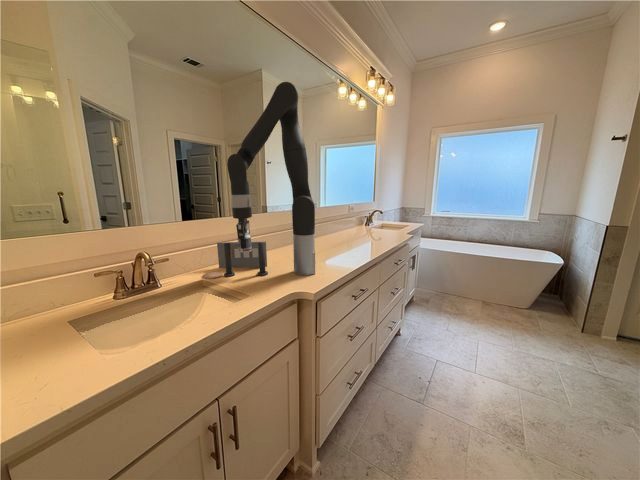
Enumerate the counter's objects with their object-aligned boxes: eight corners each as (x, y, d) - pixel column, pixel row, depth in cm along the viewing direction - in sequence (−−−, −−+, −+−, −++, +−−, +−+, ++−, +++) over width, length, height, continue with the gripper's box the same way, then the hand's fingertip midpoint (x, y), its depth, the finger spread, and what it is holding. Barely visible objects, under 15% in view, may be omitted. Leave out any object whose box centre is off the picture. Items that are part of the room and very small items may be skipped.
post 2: (268, 272, 112) (267, 241, 109) (267, 275, 108) (265, 243, 105) (258, 272, 112) (256, 241, 109) (256, 276, 107) (255, 243, 105)
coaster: (224, 272, 112) (224, 271, 112) (219, 278, 104) (219, 277, 104) (206, 273, 112) (206, 272, 111) (199, 279, 104) (199, 278, 104)
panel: (267, 265, 122) (266, 241, 119) (266, 267, 119) (265, 242, 117) (219, 267, 120) (217, 242, 117) (218, 268, 118) (216, 243, 115)
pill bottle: (254, 250, 109) (252, 229, 107) (247, 253, 104) (245, 231, 102) (243, 249, 110) (242, 229, 109) (236, 252, 105) (234, 231, 104)
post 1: (235, 273, 111) (233, 242, 108) (233, 276, 107) (231, 244, 104) (225, 273, 110) (223, 242, 108) (222, 277, 106) (219, 244, 103)
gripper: (247, 207, 97) (251, 250, 100) (254, 204, 111) (256, 242, 114) (227, 207, 96) (231, 251, 99) (236, 205, 110) (239, 243, 113)
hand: (245, 246), depth 107 cm, fingers closed on pill bottle, 5 cm apart
